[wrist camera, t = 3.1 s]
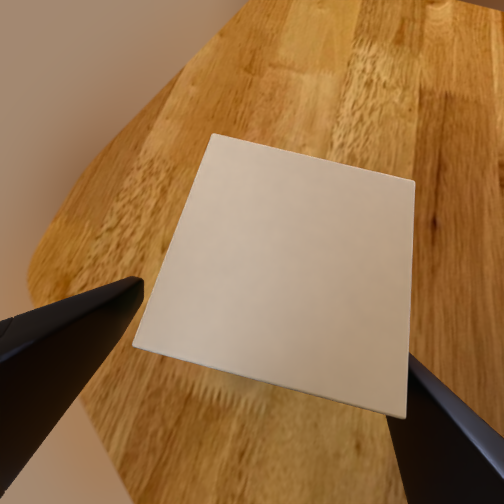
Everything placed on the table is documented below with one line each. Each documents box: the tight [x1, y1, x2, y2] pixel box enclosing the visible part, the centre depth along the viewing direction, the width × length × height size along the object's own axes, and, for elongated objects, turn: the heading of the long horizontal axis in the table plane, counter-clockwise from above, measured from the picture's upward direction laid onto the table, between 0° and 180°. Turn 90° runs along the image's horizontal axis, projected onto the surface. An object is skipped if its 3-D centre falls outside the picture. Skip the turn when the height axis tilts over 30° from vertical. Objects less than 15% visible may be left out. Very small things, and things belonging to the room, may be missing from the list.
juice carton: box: [132, 133, 415, 419], centre depth 11 cm, size 5×5×13 cm
